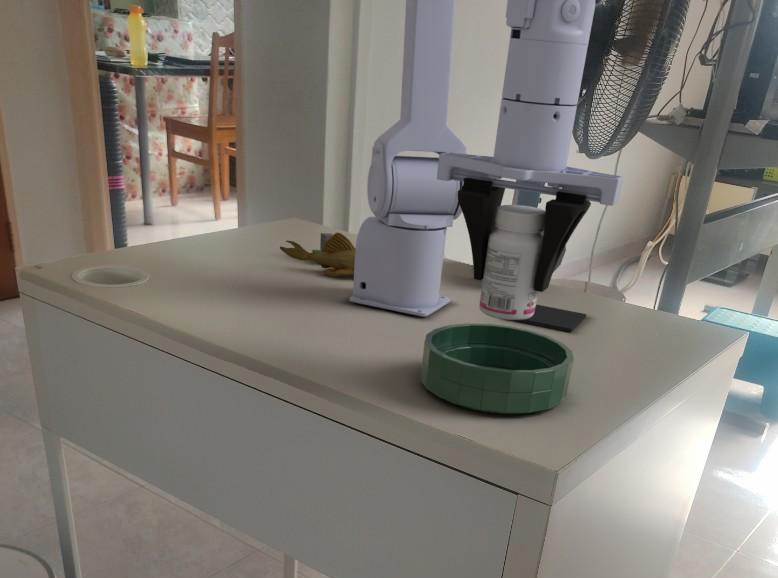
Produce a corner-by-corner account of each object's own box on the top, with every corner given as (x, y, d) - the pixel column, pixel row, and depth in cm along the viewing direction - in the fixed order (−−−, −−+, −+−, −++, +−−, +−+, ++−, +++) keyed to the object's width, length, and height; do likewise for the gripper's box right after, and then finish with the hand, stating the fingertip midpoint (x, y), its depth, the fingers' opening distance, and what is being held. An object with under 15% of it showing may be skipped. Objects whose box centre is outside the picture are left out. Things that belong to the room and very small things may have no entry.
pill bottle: (516, 303, 74) (533, 203, 70) (544, 320, 71) (563, 215, 66) (468, 305, 73) (482, 202, 68) (494, 322, 69) (511, 215, 65)
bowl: (397, 395, 71) (401, 350, 69) (450, 355, 81) (455, 314, 79) (542, 431, 67) (551, 384, 65) (579, 384, 77) (588, 342, 75)
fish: (378, 288, 102) (383, 247, 100) (272, 266, 104) (274, 225, 101) (386, 277, 106) (392, 237, 104) (284, 256, 108) (287, 216, 105)
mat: (504, 319, 94) (505, 315, 93) (522, 305, 99) (523, 301, 99) (571, 332, 91) (571, 328, 91) (585, 317, 97) (586, 314, 96)
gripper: (431, 93, 63) (412, 276, 70) (624, 115, 58) (583, 310, 65) (463, 90, 68) (443, 261, 75) (642, 111, 63) (603, 291, 70)
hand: (510, 283), depth 70 cm, fingers closed on pill bottle, 5 cm apart
